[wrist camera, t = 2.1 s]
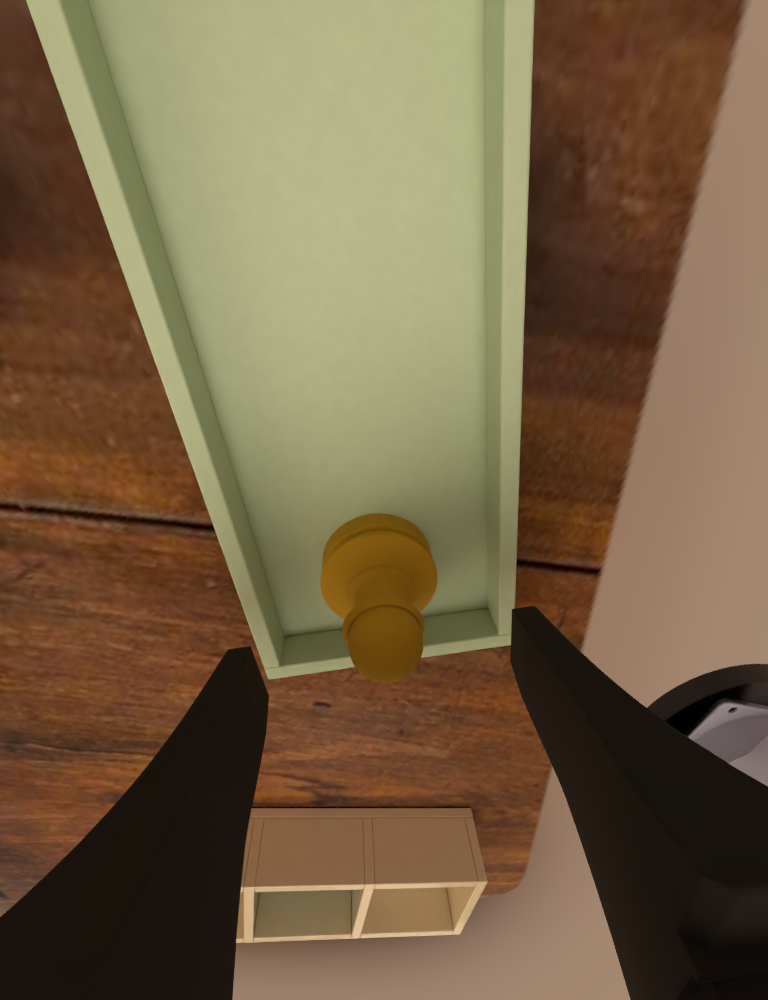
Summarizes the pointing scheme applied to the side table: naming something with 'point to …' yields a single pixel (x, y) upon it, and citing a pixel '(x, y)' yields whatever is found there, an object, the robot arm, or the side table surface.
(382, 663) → the chess piece
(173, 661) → the side table surface
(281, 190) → the tray
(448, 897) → the three-compartment organizer
